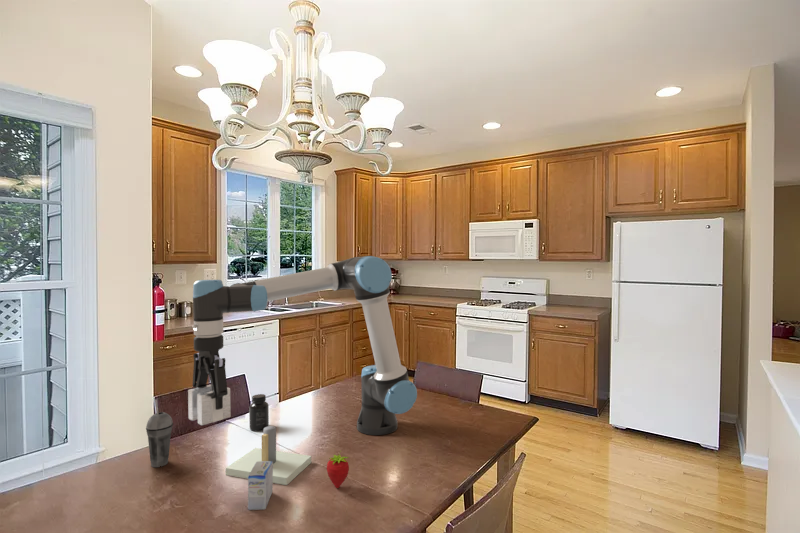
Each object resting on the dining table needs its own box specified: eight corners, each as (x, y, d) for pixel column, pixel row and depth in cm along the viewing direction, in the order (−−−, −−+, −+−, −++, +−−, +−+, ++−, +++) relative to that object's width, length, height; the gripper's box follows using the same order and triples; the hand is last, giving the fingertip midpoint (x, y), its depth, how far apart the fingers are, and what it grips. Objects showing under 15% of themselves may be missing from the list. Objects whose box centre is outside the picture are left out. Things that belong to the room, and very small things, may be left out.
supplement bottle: (271, 424, 160) (271, 393, 160) (264, 432, 153) (264, 399, 153) (254, 424, 161) (254, 392, 161) (246, 431, 154) (246, 398, 154)
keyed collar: (188, 418, 117) (188, 389, 117) (216, 410, 123) (216, 383, 123) (202, 425, 112) (201, 395, 112) (230, 416, 118) (230, 388, 118)
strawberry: (343, 478, 120) (343, 443, 120) (352, 491, 113) (352, 454, 113) (323, 483, 117) (323, 447, 117) (331, 496, 110) (331, 458, 110)
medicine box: (255, 493, 112) (255, 461, 112) (273, 492, 112) (272, 460, 112) (247, 510, 104) (247, 475, 104) (266, 509, 104) (266, 475, 104)
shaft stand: (225, 474, 122) (225, 433, 122) (255, 454, 135) (255, 416, 135) (286, 485, 116) (286, 441, 116) (311, 462, 129) (311, 423, 129)
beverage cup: (178, 460, 131) (178, 396, 131) (158, 471, 124) (158, 403, 124) (160, 456, 133) (160, 393, 133) (139, 467, 126) (139, 400, 126)
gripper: (178, 333, 121) (179, 412, 121) (213, 341, 107) (214, 430, 108) (204, 330, 127) (205, 405, 127) (240, 337, 113) (242, 421, 113)
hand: (209, 416), depth 117 cm, fingers closed on keyed collar, 8 cm apart
